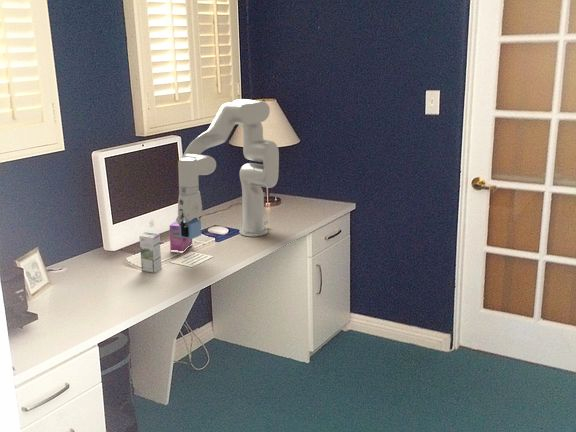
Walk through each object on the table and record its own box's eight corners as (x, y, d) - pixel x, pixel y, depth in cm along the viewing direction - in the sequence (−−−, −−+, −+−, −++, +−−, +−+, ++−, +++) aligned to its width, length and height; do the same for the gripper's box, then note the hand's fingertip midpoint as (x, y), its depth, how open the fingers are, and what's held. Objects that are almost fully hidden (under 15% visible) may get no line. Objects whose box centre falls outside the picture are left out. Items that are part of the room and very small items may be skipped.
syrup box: (162, 268, 259) (160, 232, 255) (154, 273, 253) (152, 237, 249) (149, 266, 261) (147, 231, 256) (141, 271, 255) (138, 235, 251)
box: (183, 253, 275) (182, 226, 272) (170, 252, 276) (168, 225, 273) (192, 245, 285) (191, 219, 281) (180, 244, 286) (179, 217, 283)
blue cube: (189, 232, 269) (188, 218, 267) (201, 235, 266) (200, 220, 264) (179, 236, 264) (179, 222, 262) (191, 239, 261) (191, 224, 259)
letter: (191, 252, 277) (191, 251, 277) (213, 256, 271) (213, 256, 271) (169, 262, 265) (169, 261, 265) (191, 267, 260) (191, 266, 260)
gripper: (182, 195, 251) (184, 241, 256) (210, 186, 265) (211, 230, 270) (166, 193, 255) (168, 238, 260) (195, 184, 269) (196, 227, 274)
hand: (190, 233), depth 265 cm, fingers closed on blue cube, 6 cm apart
